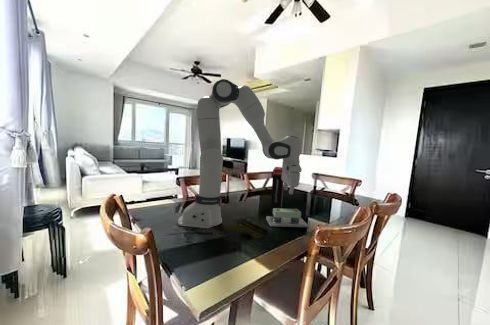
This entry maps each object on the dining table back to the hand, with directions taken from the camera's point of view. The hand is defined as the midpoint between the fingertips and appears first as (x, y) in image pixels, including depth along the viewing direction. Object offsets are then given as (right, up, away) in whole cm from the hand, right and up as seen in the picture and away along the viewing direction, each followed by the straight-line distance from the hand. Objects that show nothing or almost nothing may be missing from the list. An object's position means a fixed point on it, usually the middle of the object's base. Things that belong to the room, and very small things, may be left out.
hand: (288, 191), depth 120 cm
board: (-1, -13, +1) cm, 13 cm away
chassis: (-1, -17, +2) cm, 17 cm away
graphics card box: (-3, -15, +25) cm, 29 cm away
